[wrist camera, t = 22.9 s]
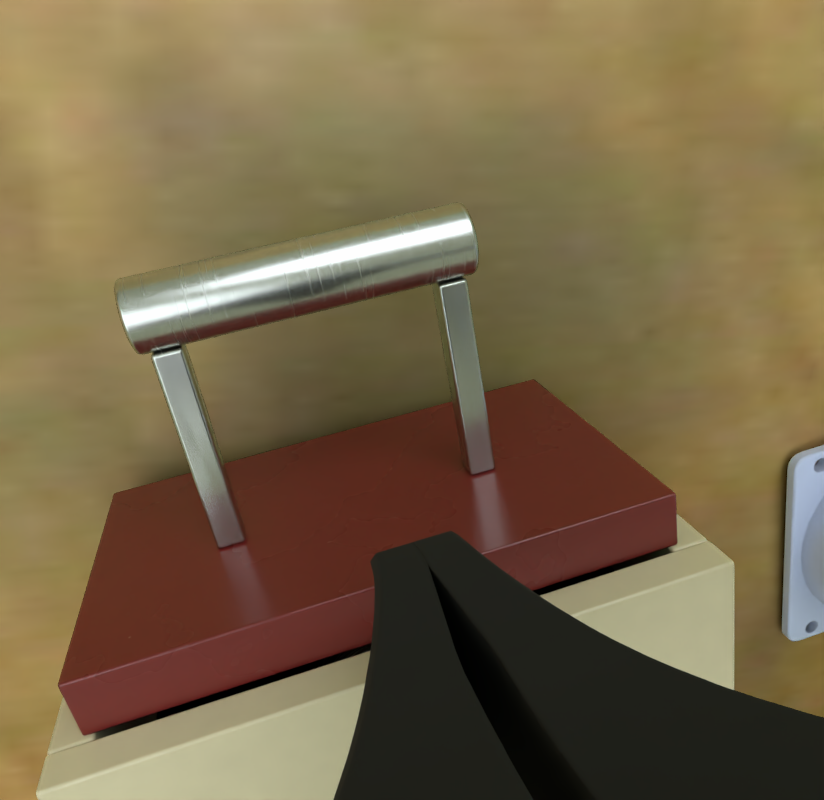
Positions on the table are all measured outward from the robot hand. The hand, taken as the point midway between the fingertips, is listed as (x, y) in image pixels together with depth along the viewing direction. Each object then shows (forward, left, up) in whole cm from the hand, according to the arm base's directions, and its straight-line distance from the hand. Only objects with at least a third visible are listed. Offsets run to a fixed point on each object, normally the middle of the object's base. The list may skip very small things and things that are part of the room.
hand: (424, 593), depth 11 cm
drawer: (0, +5, -8) cm, 9 cm away
